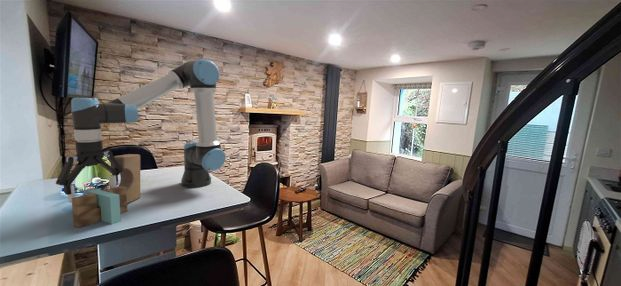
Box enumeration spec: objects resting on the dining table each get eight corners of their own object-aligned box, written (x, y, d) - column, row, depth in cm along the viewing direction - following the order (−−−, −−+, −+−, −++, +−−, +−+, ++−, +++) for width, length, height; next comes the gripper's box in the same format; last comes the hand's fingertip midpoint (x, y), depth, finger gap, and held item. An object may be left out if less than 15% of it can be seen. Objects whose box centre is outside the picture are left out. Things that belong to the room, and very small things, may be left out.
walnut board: (122, 209, 103) (121, 186, 102) (127, 211, 102) (126, 187, 101) (73, 226, 89) (71, 198, 87) (78, 227, 88) (76, 199, 86)
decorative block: (123, 205, 106) (123, 157, 105) (109, 204, 106) (109, 156, 105) (141, 197, 117) (141, 154, 116) (128, 197, 117) (128, 153, 116)
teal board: (84, 215, 97) (82, 189, 96) (93, 212, 100) (92, 187, 98) (111, 224, 91) (110, 197, 90) (120, 220, 94) (119, 194, 93)
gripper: (118, 136, 106) (122, 185, 109) (37, 144, 83) (45, 206, 87) (130, 137, 103) (134, 188, 107) (49, 146, 81) (57, 210, 84)
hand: (94, 196), depth 97 cm, fingers open, 13 cm apart
